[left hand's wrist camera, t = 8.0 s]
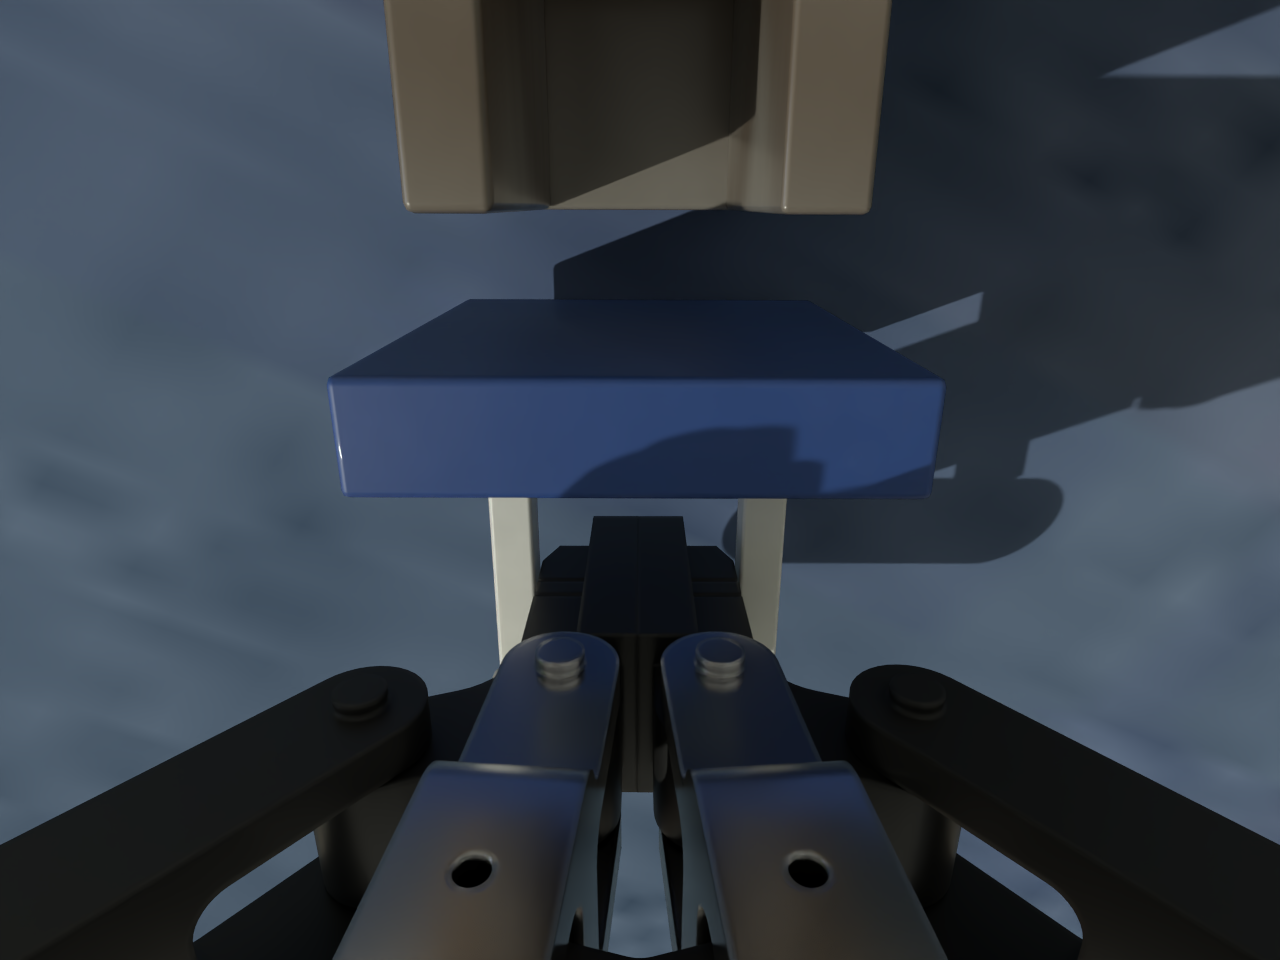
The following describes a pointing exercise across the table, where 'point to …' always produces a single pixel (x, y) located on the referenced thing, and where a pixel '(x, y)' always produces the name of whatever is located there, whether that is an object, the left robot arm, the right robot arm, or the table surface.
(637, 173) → the drawer
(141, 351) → the table surface
